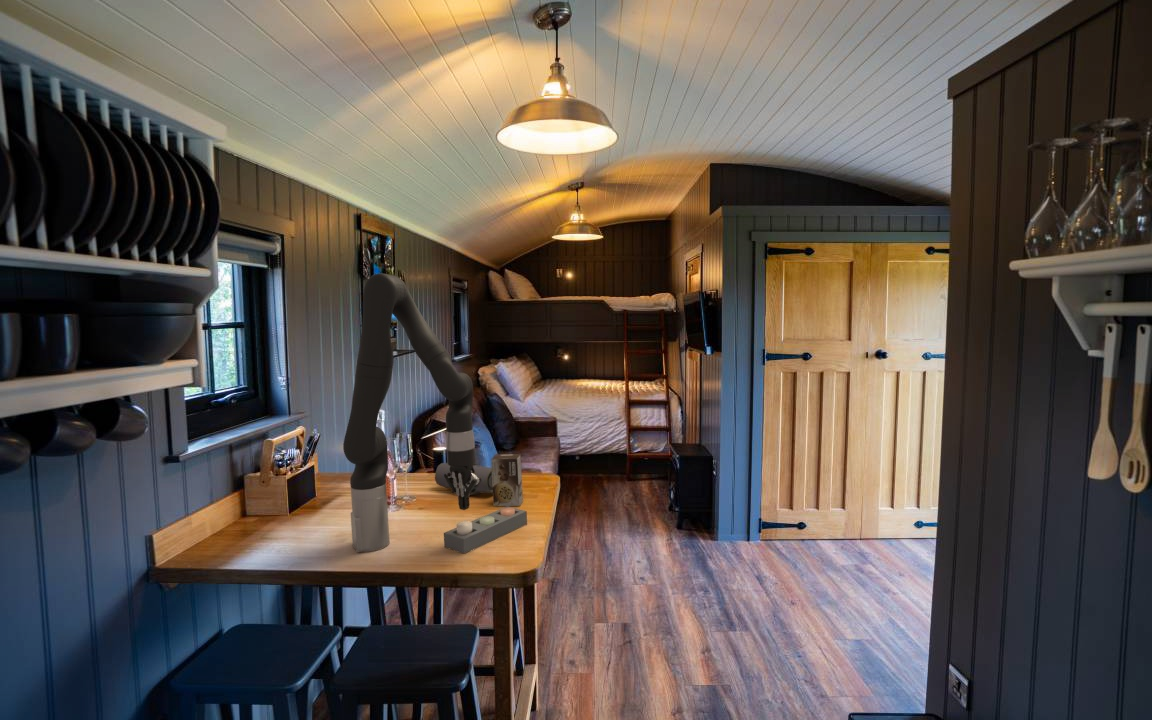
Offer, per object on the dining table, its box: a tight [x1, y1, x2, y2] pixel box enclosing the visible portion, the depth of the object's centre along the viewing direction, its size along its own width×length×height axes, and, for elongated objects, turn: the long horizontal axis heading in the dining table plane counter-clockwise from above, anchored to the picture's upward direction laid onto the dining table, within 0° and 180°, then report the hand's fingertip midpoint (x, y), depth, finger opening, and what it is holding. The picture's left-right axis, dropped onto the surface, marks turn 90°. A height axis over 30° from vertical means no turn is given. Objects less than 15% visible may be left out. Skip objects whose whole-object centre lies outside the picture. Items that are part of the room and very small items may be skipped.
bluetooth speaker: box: [434, 462, 493, 495], centre depth 202 cm, size 23×9×10 cm, turn 64°
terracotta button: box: [500, 507, 515, 517], centre depth 169 cm, size 4×4×3 cm
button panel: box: [443, 506, 528, 554], centre depth 162 cm, size 25×8×4 cm, turn 143°
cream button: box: [456, 520, 472, 536], centre depth 155 cm, size 4×4×3 cm
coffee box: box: [490, 453, 524, 507], centre depth 189 cm, size 9×6×16 cm
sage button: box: [479, 516, 495, 526], centre depth 162 cm, size 4×4×3 cm
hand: (464, 508), depth 155 cm, fingers closed
